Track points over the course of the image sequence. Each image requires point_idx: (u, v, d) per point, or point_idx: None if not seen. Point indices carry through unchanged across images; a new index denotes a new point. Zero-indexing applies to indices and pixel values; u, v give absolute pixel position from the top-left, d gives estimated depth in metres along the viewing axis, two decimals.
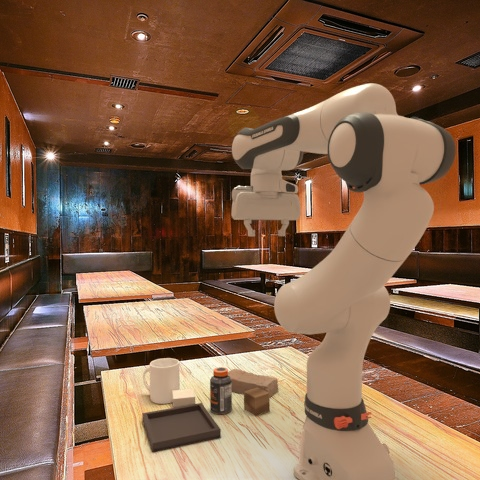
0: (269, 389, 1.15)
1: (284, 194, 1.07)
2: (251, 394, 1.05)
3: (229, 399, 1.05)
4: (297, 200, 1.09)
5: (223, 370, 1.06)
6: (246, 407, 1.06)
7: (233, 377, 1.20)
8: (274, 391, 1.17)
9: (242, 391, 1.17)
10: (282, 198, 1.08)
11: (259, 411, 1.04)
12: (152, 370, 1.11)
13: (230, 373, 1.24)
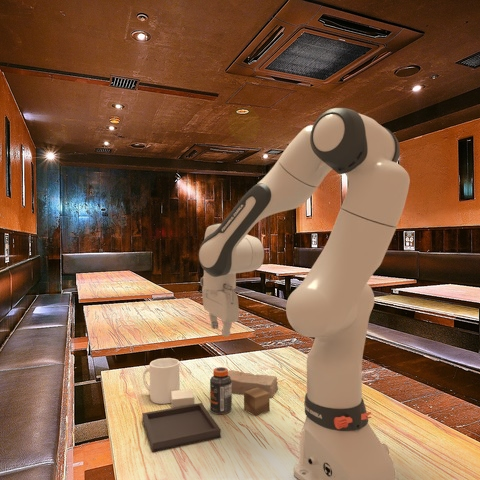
0: (272, 388, 1.16)
1: None
2: (251, 394, 1.05)
3: (229, 399, 1.05)
4: None
5: (223, 370, 1.06)
6: (246, 407, 1.06)
7: (234, 378, 1.19)
8: (275, 389, 1.19)
9: None
10: None
11: (259, 411, 1.04)
12: (152, 370, 1.11)
13: (228, 375, 1.22)
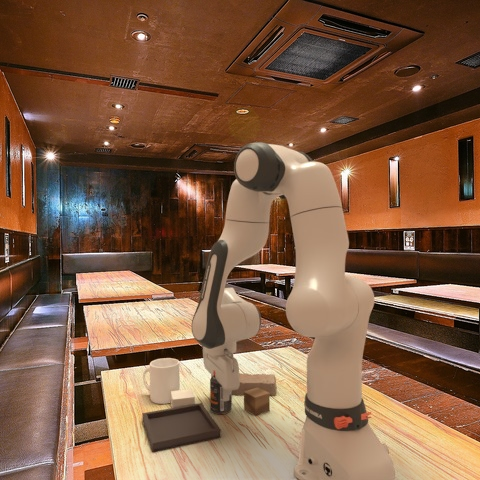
0: (275, 386, 1.17)
1: None
2: (251, 394, 1.05)
3: (229, 399, 1.05)
4: None
5: None
6: (246, 407, 1.06)
7: None
8: None
9: None
10: None
11: (259, 411, 1.04)
12: (152, 370, 1.11)
13: None
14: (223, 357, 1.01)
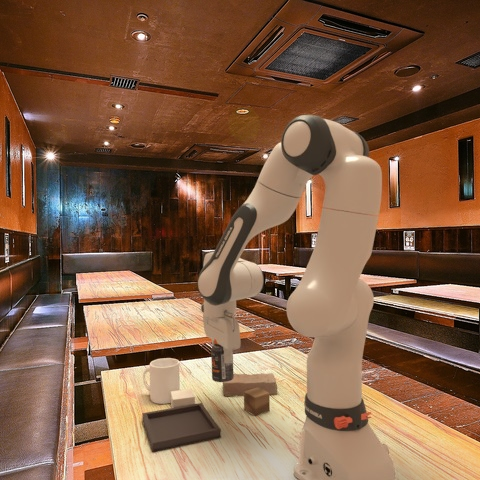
0: None
1: None
2: (251, 394, 1.05)
3: (231, 367, 1.04)
4: None
5: None
6: (246, 407, 1.06)
7: (236, 381, 1.17)
8: None
9: None
10: None
11: (259, 411, 1.04)
12: (153, 370, 1.11)
13: None
14: (223, 318, 1.01)
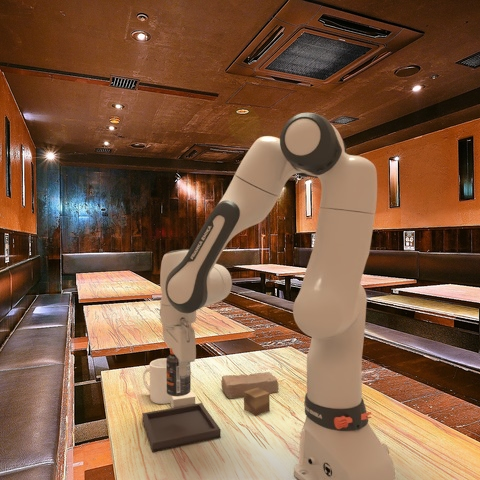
0: None
1: None
2: (251, 394, 1.05)
3: (187, 380, 0.95)
4: None
5: None
6: (246, 407, 1.06)
7: (240, 382, 1.16)
8: None
9: None
10: None
11: (259, 411, 1.04)
12: (152, 370, 1.11)
13: (229, 380, 1.18)
14: (179, 326, 0.91)
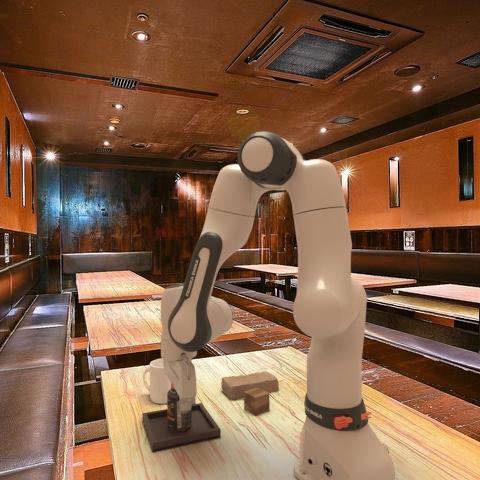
0: None
1: None
2: (251, 394, 1.05)
3: (188, 415, 0.95)
4: None
5: None
6: (246, 407, 1.06)
7: (242, 383, 1.15)
8: None
9: None
10: None
11: (259, 411, 1.04)
12: (152, 370, 1.11)
13: (231, 381, 1.17)
14: (179, 362, 0.91)
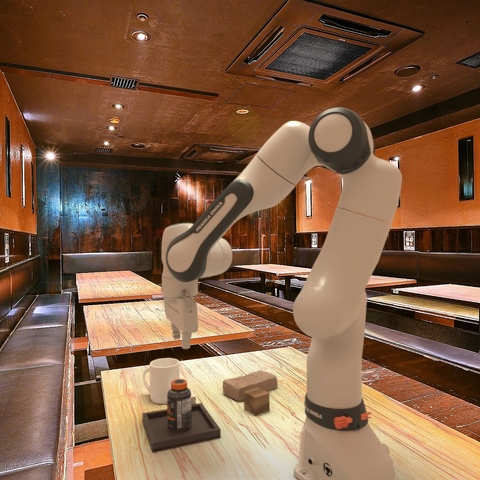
0: None
1: None
2: (251, 394, 1.05)
3: (188, 415, 0.95)
4: None
5: (181, 382, 0.95)
6: (246, 407, 1.06)
7: (247, 383, 1.15)
8: None
9: None
10: None
11: (259, 411, 1.04)
12: (152, 370, 1.11)
13: (235, 383, 1.15)
14: (181, 298, 0.91)
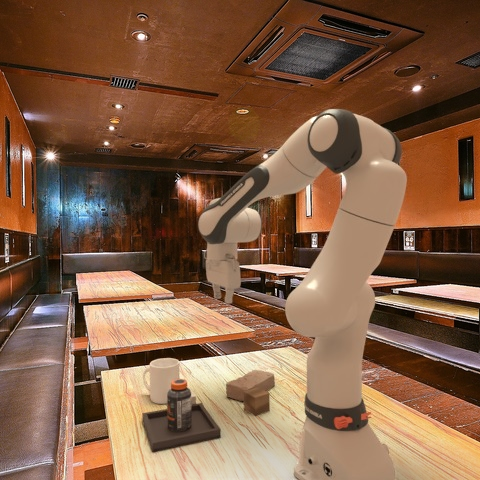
0: None
1: None
2: (251, 394, 1.05)
3: (188, 415, 0.95)
4: None
5: (181, 382, 0.95)
6: (246, 407, 1.06)
7: (252, 384, 1.15)
8: None
9: None
10: None
11: (259, 411, 1.04)
12: (153, 370, 1.11)
13: (240, 385, 1.14)
14: (225, 260, 1.08)
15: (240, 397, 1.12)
